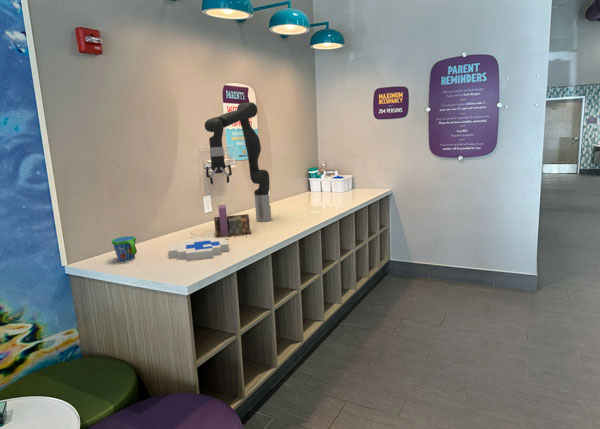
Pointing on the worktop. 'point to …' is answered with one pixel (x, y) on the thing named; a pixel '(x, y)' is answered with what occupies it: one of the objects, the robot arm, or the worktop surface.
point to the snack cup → (125, 247)
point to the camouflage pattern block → (234, 226)
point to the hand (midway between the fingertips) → (220, 183)
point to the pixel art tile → (198, 248)
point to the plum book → (223, 219)
